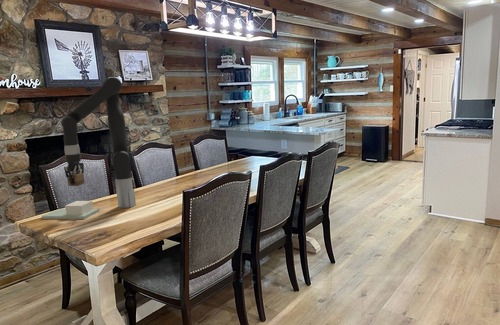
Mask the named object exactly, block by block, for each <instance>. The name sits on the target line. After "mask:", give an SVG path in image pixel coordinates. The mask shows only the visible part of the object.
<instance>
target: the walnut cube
mask: <svg viewBox="0 0 500 325" xmlns="http://www.w3.org/2000/svg"><path fill="white" fill-rule="evenodd" d="M71 175H72V174H71ZM66 179H67V186H68V187H79V186H82V185H84V184H85V183H86V182H85V174H84V173H79V172H78V173H76V172H75V174H74V183H75V184H74V185H71V184H70V179H69V178H68V177H66Z"/></svg>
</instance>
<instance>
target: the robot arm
mask: <svg viewBox="0 0 500 325" xmlns="http://www.w3.org/2000/svg"><path fill="white" fill-rule="evenodd" d="M122 87H123V86H122V81H121V80H120V79H119V77H118V78H117V77H114V76H110V77H107V78H106V79H104V80H103V82H102V86H101V87H100V88H99V89H98V90H97V91H96V92H94V93H93V94H92V95H90V96H89V97H87V98H86V99H85V100H84V101H82V102H81V103H80V104H78V105H77V107H75V108H74V109H73V110H72V111H71V112H69V113H68V114H67V115H65V116H64V117H63V118H62V119H61V120H60V124H61V125H60V126H61V127H62V130H63V145H64V156H65V163H67V166H64V168H63V169H64V174H65V178H67V177H68V178H69V179H70V184H71V185H74V184H75V183H74V174H75V173H83V174H84V173H85V168H84V167H85V166H84V164H85V163H84V162H81V161H82V159H81V158H82V156H81V149H80V145H79V139H78V124H79V123H80V122H81V121H82V120H84V119H86V118H87V117H88V116H89V115H91V114H92V113H93V112H94V111H95V110H96V109H97V108H98V107H99V106H100V105H101V104H102V103H104V102H106V103H105V104H106V116H107V124H108V130H109V134H110V137H111V142H112V146H113V148H112V150H113V153H112V154H113V156H112V165H113V166H112V167H113V173H114V179H115V190H116V198H117V206H118V209H128V208H129V209H130V208H133V207H135V206H136V205H137V202H136V201H137V200H136V194H135V193H136V192H135V189H134V188H133V187H134V186H133V178H132V169H131V158H130V155H129V151H128V147H127V143H126V142H127V140H126V139H127V138H126V132H127V129H126V121H125V120H126V119H125V114H124V111H123V108H122V105H121V102H120V92H121V90H122ZM71 174H72V175H71Z"/></svg>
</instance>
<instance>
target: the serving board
mask: <svg viewBox="0 0 500 325" xmlns="http://www.w3.org/2000/svg"><path fill="white" fill-rule="evenodd" d="M99 212H100V209H99V208H93V210H91V211H89V212H87V213H85V214H83V215H66V209H65V208H58V209H56V210H53V211H50V212H48V213H46V214H44V215H42V216H41V219H42V220H44V219H45V220H46V219H47V220H48V219H49V220H86V219H87V218H90V217H91V216H93V215H95V214H97V213H99Z"/></svg>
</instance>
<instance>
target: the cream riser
mask: <svg viewBox="0 0 500 325" xmlns="http://www.w3.org/2000/svg"><path fill="white" fill-rule="evenodd" d="M64 207H65V208H64V209H66V215H83V214H85V213H87V212H89V211H91V210H93V209H94V205H93V200H76V201H73V202H71V203H68V204H66V205H65V206H64Z"/></svg>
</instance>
